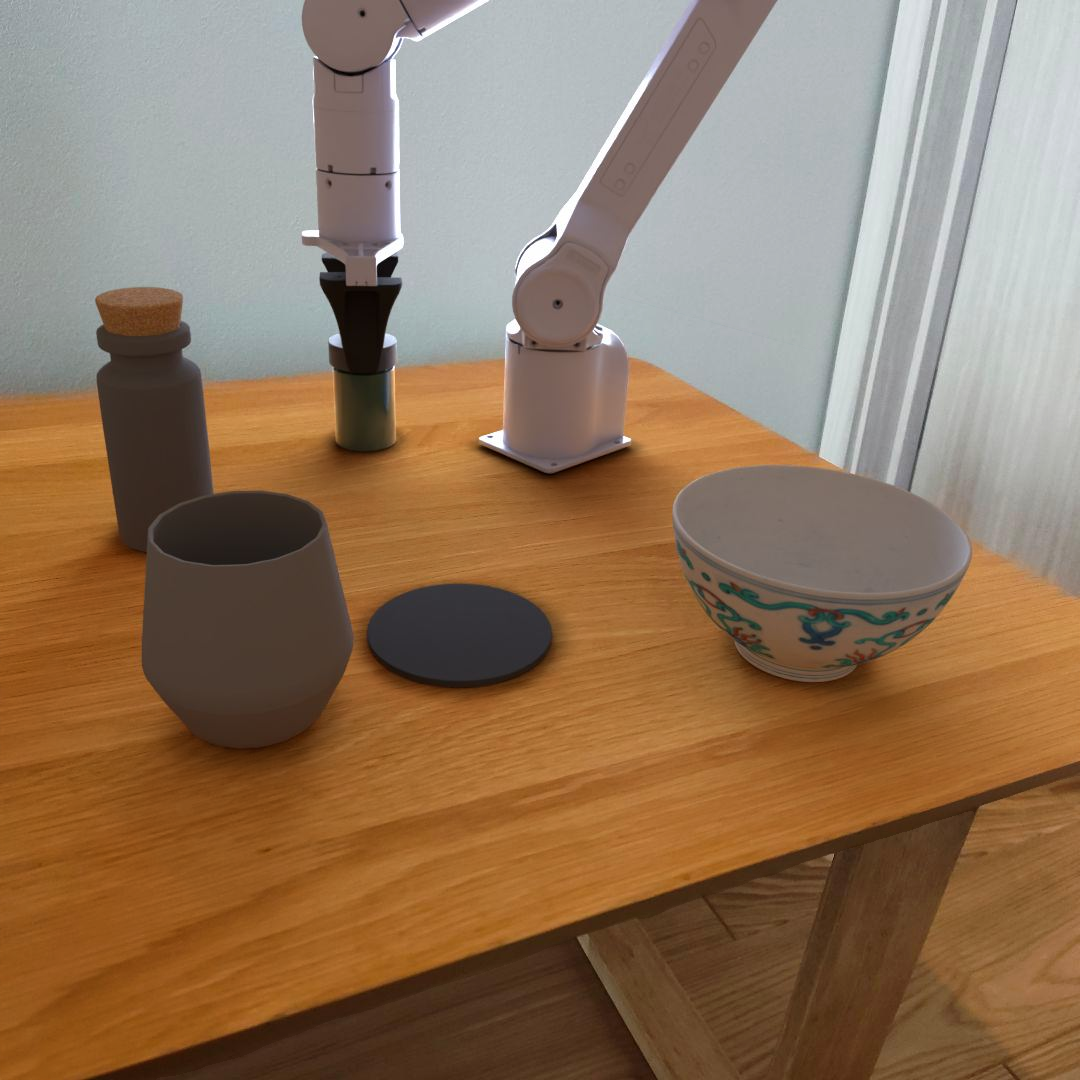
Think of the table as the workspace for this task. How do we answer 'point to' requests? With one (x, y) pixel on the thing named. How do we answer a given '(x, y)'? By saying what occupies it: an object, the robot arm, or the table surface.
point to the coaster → (459, 635)
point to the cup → (244, 616)
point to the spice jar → (364, 409)
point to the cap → (339, 359)
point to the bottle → (150, 408)
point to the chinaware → (815, 565)
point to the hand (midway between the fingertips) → (363, 359)
